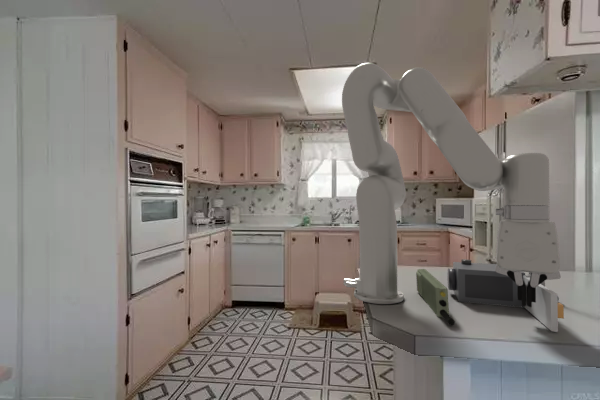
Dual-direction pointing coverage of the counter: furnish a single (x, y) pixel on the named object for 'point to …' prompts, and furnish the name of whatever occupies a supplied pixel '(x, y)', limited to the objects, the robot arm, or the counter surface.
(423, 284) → the handheld radio
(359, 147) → the robot arm
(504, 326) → the counter surface
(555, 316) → the side door
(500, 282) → the camera housing
